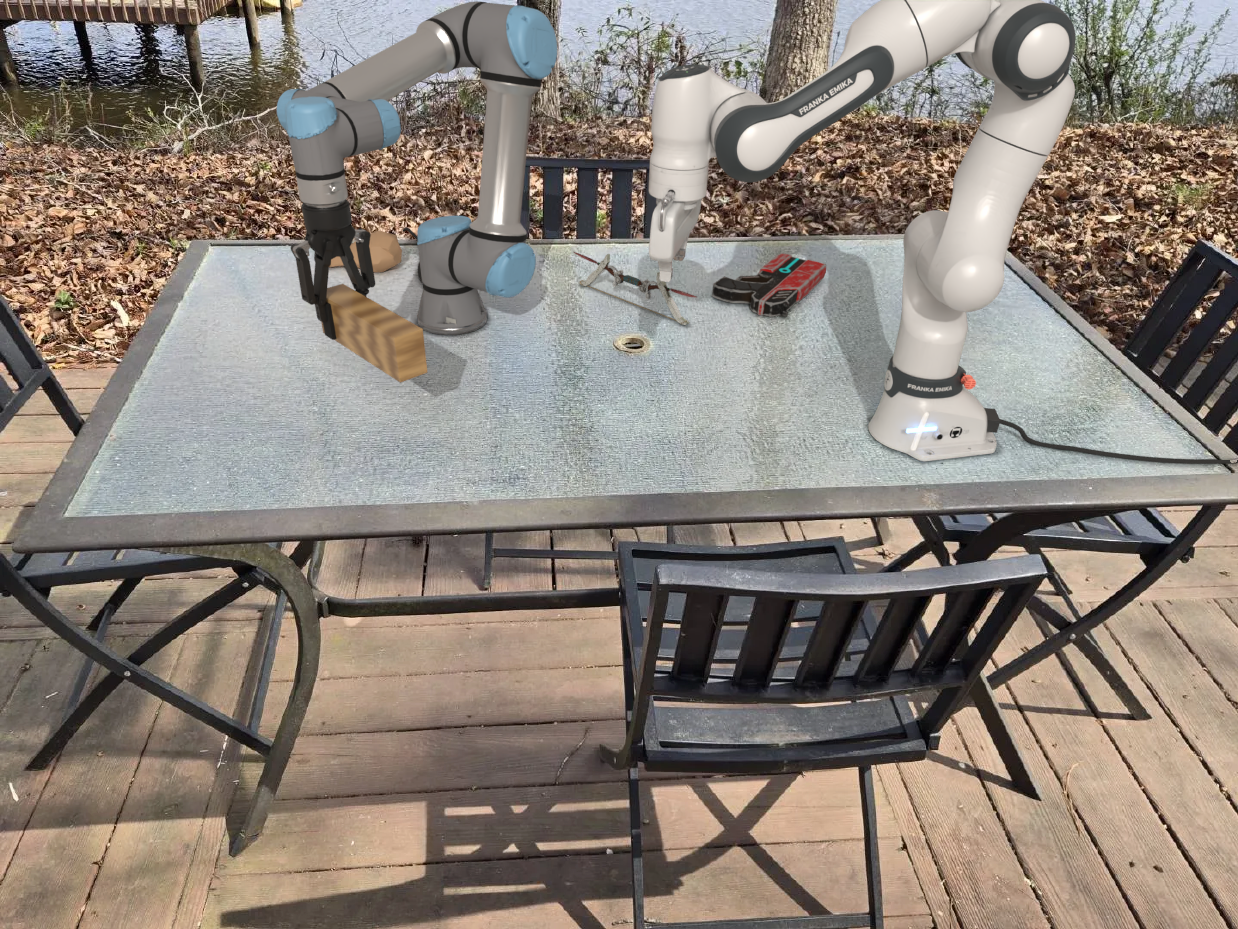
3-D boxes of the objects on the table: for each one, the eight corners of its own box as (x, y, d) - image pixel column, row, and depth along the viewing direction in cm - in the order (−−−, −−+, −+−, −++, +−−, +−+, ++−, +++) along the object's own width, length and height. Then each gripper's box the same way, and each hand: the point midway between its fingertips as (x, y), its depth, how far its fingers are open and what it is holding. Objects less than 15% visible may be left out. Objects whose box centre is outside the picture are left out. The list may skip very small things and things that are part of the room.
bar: (323, 332, 156) (315, 291, 152) (349, 324, 159) (342, 283, 155) (400, 382, 141) (394, 338, 137) (427, 372, 144) (422, 328, 140)
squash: (402, 276, 219) (391, 244, 212) (324, 283, 220) (312, 251, 214) (409, 253, 226) (400, 222, 220) (335, 261, 228) (323, 229, 222)
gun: (708, 284, 207) (784, 305, 199) (760, 245, 229) (831, 262, 221) (706, 302, 209) (781, 323, 201) (758, 261, 231) (828, 278, 223)
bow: (697, 327, 197) (701, 285, 192) (692, 329, 196) (696, 287, 191) (576, 279, 219) (576, 241, 213) (571, 281, 218) (571, 242, 212)
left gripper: (282, 218, 134) (308, 354, 147) (386, 195, 145) (402, 324, 158) (260, 206, 139) (287, 340, 152) (362, 185, 150) (380, 311, 163)
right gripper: (683, 204, 123) (677, 296, 131) (710, 167, 140) (703, 250, 148) (640, 199, 125) (636, 290, 132) (672, 163, 141) (667, 246, 149)
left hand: (346, 331), depth 155 cm, fingers closed on bar, 5 cm apart
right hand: (672, 269), depth 140 cm, fingers open, 8 cm apart
